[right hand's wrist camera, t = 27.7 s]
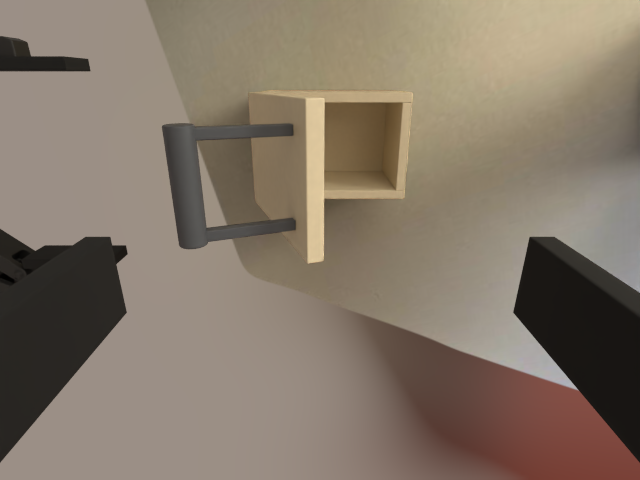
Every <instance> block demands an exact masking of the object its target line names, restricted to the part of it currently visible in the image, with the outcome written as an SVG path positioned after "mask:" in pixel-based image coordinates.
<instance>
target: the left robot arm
mask: <svg viewBox="0 0 640 480" xmlns="http://www.w3.org/2000/svg"><path fill="white" fill-rule="evenodd" d="M0 71H90V66H89V62H88V59H82V58H73V57H31V55H30V51H29V47H28V43H27V42H25V41H23V40H20V39H16V38H9V37H3V36H0ZM70 247H71V246H43V247H42V248H40V249H38V250H37V251H34V250H33V249H31V248H30V247H28V246H26V245H25V244H23V243H22V242H20V241H18V240H17V239H15V238H14V237H12V236H11V235H9V234H7V233H6V232H4V231H3V230H1V229H0V293H1V292H3V291H4V290H6V289H7V288H9V287H10V286H12V285H13V284H15V283H16V282H18V281H19V280H21V279H22V278H24V277H25V276H27V275H29V274H30V273H32V272H33V271H35V270H36V269H38V268H39V267H41V266H42V265H44V264H45V263H47V262H48V261H50V260H51V259H53V258H54V257H56V256H57V255H59V254H61V253H62V252H64V251H65V250H67V249H68V248H70ZM112 247H113V252H114V257H115V261H116V264H117V263H118V262H119V261H120V260H121V259H123V258H124V257H125V256H126V255H127V249H126V246H112Z"/></svg>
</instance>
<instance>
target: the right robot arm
mask: <svg viewBox="0 0 640 480" xmlns="http://www.w3.org/2000/svg"><path fill="white" fill-rule="evenodd" d="M126 313H127V312H126V307H125V303H124V298H123V294H122V289H121V285H120V280H119V275H118V271H117V266H116V261H115V257H114V252H113V247H112V243H111V238H110V237H85V238H83V239H82V240H80V241H79V242H77V243H76V244H74V245H73V246H71V247H70V248H68V249H67V250H65V251H64V252H62V253H61V254H59V255H57V256H56V257H54V258H53V259H51V260H50V261H48V262H47V263H45V264H44V265H42V266H41V267H39V268H38V269H36V270H35V271H33V272H32V273H30V274H29V275H27V276H25V277H24V278H22V279H21V280H19V281H18V282H16V283H15V284H13V285H12V286H10V287H9V288H7V289H6V290H4V291H3V292H1V293H0V462H1V461H2V460H3V459H4V457H5V456H6V455H7V454H8V453H9V451H10V450H11V449H12V448H13V447H14V446H15V444H16V443H17V442H18V441H19V440H20V438H21V437H22V436H23V435H24V434H25V432H26V431H27V430H28V429H29V428H30V427H31V425H32V424H33V423H34V422H35V421H36V419H37V418H38V417H39V416H40V415H41V413H42V412H43V411H44V410H45V409H46V408H47V406H48V405H49V404H50V403H51V402H52V400H53V399H54V398H55V397H56V396H57V394H58V393H59V392H60V391H61V390H62V389H63V387H64V386H65V385H66V384H67V383H68V381H69V380H70V379H71V378H72V377H73V376H74V374H75V373H76V372H77V371H78V370H79V368H80V367H81V366H82V365H83V364H84V362H85V361H86V360H87V359H88V358H89V356H90V355H91V354H92V353H93V352H94V351H95V349H96V348H97V347H98V346H99V345H100V343H101V342H102V341H103V340H104V339H105V338H106V336H107V335H108V334H109V333H110V332H111V330H112V329H113V328H114V327H115V326H116V324H117V323H118V322H119V321H120V320H121V319H122V317H123V316H124V315H125V314H126ZM513 313H514V314H515V315H516V316H517V317H518V319H519V320H520V321H521V322H522V323H523V325H524V326H525V327H526V328H527V329H528V330H529V332H530V333H531V334H532V335H533V336H534V338H535V339H536V340H537V341H538V342H539V344H540V345H541V346H542V347H543V348H544V349H545V351H546V352H547V353H548V354H549V355H550V357H551V358H552V359H553V360H554V361H555V362H556V364H557V365H558V366H559V367H560V368H561V370H562V371H563V372H564V373H565V374H566V376H567V377H568V378H569V379H570V380H571V381H572V383H573V384H574V385H575V386H576V387H577V389H578V390H579V391H580V392H581V393H582V395H583V396H584V397H585V398H586V399H587V400H588V402H589V403H590V404H591V405H592V406H593V408H594V409H595V410H596V411H597V412H598V413H599V415H600V416H601V417H602V418H603V419H604V421H605V422H606V423H607V424H608V425H609V426H610V428H611V429H612V430H613V431H614V432H615V434H616V435H617V436H618V437H619V438H620V440H621V441H622V442H623V443H624V444H625V446H626V447H627V448H628V449H629V450H630V451H631V453H632V454H633V455H634V456H635V457H636V458H637V460H638V461H639V462H640V293H639V292H637V291H636V290H634V289H633V288H631V287H630V286H628V285H627V284H625V283H624V282H622V281H621V280H619V279H618V278H616V277H615V276H613V275H611V274H610V273H608V272H607V271H605V270H604V269H602V268H601V267H599V266H598V265H596V264H595V263H593V262H592V261H590V260H589V259H587V258H586V257H584V256H583V255H581V254H579V253H578V252H576V251H575V250H573V249H572V248H570V247H569V246H567V245H566V244H564V243H563V242H561V241H560V240H558V239H557V238H555V237H530V238H529V243H528V247H527V252H526V257H525V261H524V266H523V270H522V275H521V280H520V284H519V289H518V294H517V298H516V303H515V307H514V312H513Z"/></svg>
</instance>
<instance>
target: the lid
mask: <svg viewBox="0 0 640 480" xmlns="http://www.w3.org/2000/svg"><path fill="white" fill-rule="evenodd" d="M248 99H249V115H250V125H225V126H197V127H195V126H194V124H186V123H179V124H166V125H163V126H162V130H163V137H164V144H165V151H166V157H167V164H168V171H169V178H170V185H171V192H172V199H173V206H174V212H175V219H176V226H177V233H178V240H179V245H180V247H181V248H184V249H196V248H201V247H204V246H205V245H207V243H208V242H210V241H218V240H225V239H233V238H240V237H248V236H255V235H263V234H270V233H278V232H281V233H282V234H283V235H284V236H285V238H286V239H287V240H288V241H289V242H290V244H291V245H292V246H293V247H294V248H295V249H296V251H297V252H298V253H299V254H300V255H301V257H302V258H303V259H304V260H305V261H306V263H307V264H309V263H315V262H321V261H324V109H325V99H324V98H319V97H308V96H296V95H285V94H274V93H263V92H249V93H248ZM239 138H251V146H252V162H253V178H254V193H255V202H256V203H257V204H258V205H259V207H260V208H261V209H262V210H263V211H264V213H265V214H266V215H267V216H268V217H269V218H270V220H268V221H260V222H252V223H244V224H235V225H227V226H219V227H211V228H206V220H205V211H204V203H203V194H202V185H201V176H200V168H199V159H198V150H197V142H196V140H218V139H239Z"/></svg>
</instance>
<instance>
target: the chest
mask: <svg viewBox="0 0 640 480" xmlns="http://www.w3.org/2000/svg"><path fill="white" fill-rule="evenodd" d="M261 92H263V93H274V94H285V95H296V96H308V97H319V98H324V99H325V109H324V199H404V194H405V191H404V190H405V183H406V171H407V159H408V148H409V136H410V124H411V112H412V100H413V92H404V91H394V90H268V91H261Z"/></svg>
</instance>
